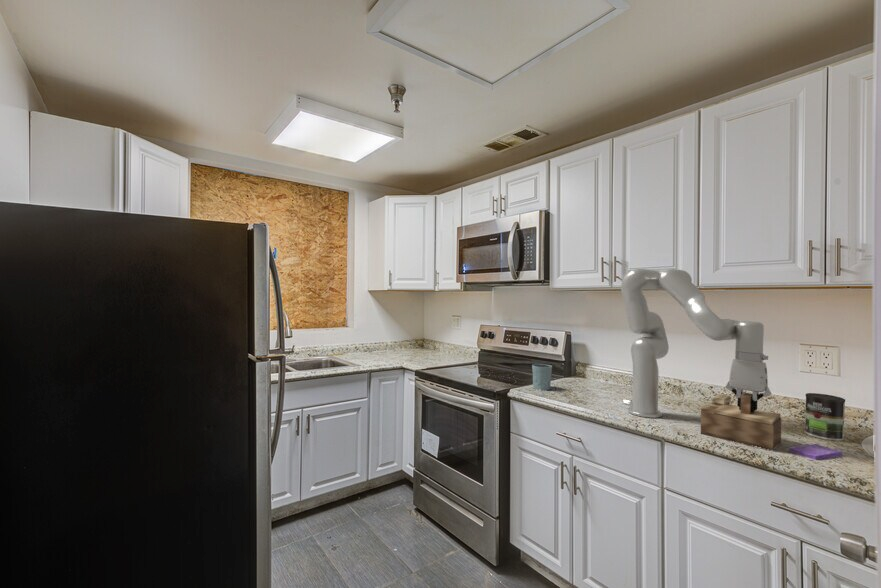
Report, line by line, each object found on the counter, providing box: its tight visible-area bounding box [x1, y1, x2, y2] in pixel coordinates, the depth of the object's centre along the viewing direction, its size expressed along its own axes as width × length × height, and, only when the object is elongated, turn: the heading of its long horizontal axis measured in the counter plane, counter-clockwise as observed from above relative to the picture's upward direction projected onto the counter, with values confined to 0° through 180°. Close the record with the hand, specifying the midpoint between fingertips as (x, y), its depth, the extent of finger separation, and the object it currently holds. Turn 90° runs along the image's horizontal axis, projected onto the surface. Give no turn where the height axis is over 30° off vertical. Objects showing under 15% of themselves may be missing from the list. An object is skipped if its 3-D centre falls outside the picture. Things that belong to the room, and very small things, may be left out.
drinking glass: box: [531, 363, 553, 391], centre depth 209 cm, size 10×10×12 cm
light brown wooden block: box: [712, 393, 731, 405], centre depth 152 cm, size 4×8×2 cm, turn 132°
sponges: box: [789, 443, 843, 461], centre depth 127 cm, size 7×13×2 cm, turn 107°
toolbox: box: [700, 401, 782, 451], centre depth 142 cm, size 20×20×9 cm
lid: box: [707, 392, 781, 425], centre depth 140 cm, size 19×14×7 cm
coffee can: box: [804, 392, 846, 442], centre depth 144 cm, size 10×10×14 cm
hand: (747, 409), depth 139 cm, fingers closed on lid, 2 cm apart
